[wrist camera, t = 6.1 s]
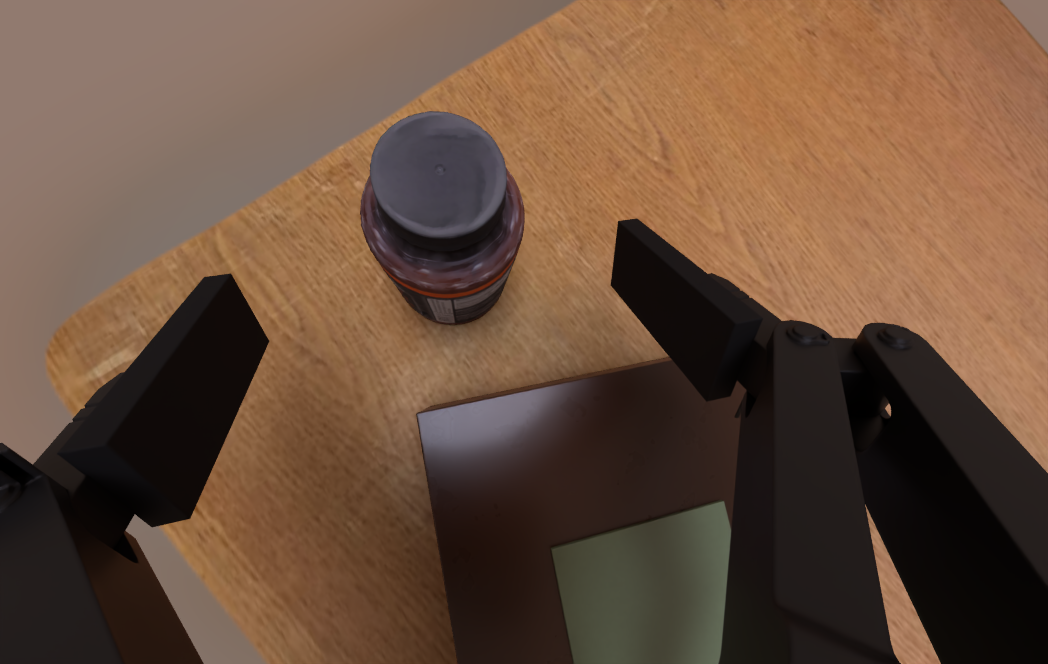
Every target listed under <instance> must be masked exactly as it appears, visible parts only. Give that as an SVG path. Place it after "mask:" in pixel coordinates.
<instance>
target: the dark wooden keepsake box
mask: <svg viewBox="0 0 1048 664" xmlns="http://www.w3.org/2000/svg"><path fill="white" fill-rule="evenodd" d="M745 392H746V389H745V388H744V387H743V386H742V385H741V384H740V383H739V382H738V381H737V382H736V385H735V387H734V389H733V392H732V394H731V396H730V397H726V398H721V399H717V400H712V401H708V402H706V400H705V399H704V398H703V397H702V396H701V394H700V393H699V392H698V391H697V390H696V388H695V387H694V386H693V385H692V383H691V382H690V381H689V380H688V379H687V377H686V376H685V375H684V374H683V372H682V371H681V370H680V369H679V368H678V366H677V365H676V364H675V363H674V362H673V360H672V359H671V358H670V357H666V358H661V359H656V360H651V361H647V362H642V363H637V364H632V365H627V366H622V367H618V368H613V369H608V370H603V371H598V372H593V373H588V374H584V375H579V376H574V377H569V378H564V379H559V380H555V381H550V382H545V383H540V384H535V385H530V386H525V387H521V388H516V389H511V390H506V391H501V392H496V393H492V394H487V395H482V396H477V397H472V398H467V399H463V400H458V401H453V402H448V403H443V404H438V405H433V406H430V407H428V408H426V409H424V410H422V411H420V412H418V413H417V414H416V415H417V422H418V428H419V434H420V440H421V446H422V452H423V458H424V464H425V470H426V476H427V482H428V488H429V494H430V500H431V506H432V512H433V518H434V524H435V530H436V536H437V542H438V548H439V554H440V560H441V566H442V572H443V578H444V584H445V590H446V596H447V602H448V608H449V614H450V620H451V626H452V632H453V638H454V644H455V650H456V656H457V662H458V664H719V659H720V654H721V646H722V634H723V622H724V610H725V598H726V586H727V574H728V563H729V551H730V539H731V527H732V515H733V503H734V491H735V479H736V467H737V456H738V444H739V432H740V420H741V415H740V416H739V418H735V417H734V416H735V414H736V412H737V410H738V408H739V405H740V403H741V401H742V399H743V396H744V394H745Z"/></svg>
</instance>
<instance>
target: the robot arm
mask: <svg viewBox="0 0 1048 664" xmlns="http://www.w3.org/2000/svg"><path fill="white" fill-rule="evenodd" d="M611 286H612V287H613V289H614V290H615V291H616V292H617V293H618V295H619V296H620V297H621V298H622V300H623V301H624V302H625V303H626V304H627V306H628V307H629V308H630V309H631V310H632V312H633V313H634V314H635V315H636V317H637V318H638V319H639V320H640V321H641V323H642V324H643V325H644V326H645V328H646V329H647V330H648V331H649V332H650V334H651V335H652V336H653V337H654V338H655V340H656V341H657V342H658V343H659V345H660V346H661V347H662V348H663V349H664V351H665V352H666V353H667V354H668V355H669V357H670V358H671V359H672V360H673V362H674V363H675V364H676V365H677V366H678V368H679V369H680V370H681V371H682V372H683V374H684V375H685V376H686V377H687V379H688V380H689V381H690V382H691V383H692V385H693V386H694V387H695V388H696V390H697V391H698V392H699V393H700V394H701V396H702V397H703V398H704V399H705V400H706V402H708V401H712V400H717V399H721V398H726V397H730V396H731V394H732V392H733V389H734V387H735V385H736V382H737V381H738V382H739V383H740V384H741V385H742V386H743V387H744V388H745V389H746V392H745V394H744V396H743V399H742V401H741V403H740V405H739V408H738V410H737V412H736V414H735V416H734V417H735V418H739V416H740V415H741V420H740V432H739V444H738V456H737V467H736V479H735V491H734V503H733V515H732V527H731V539H730V551H729V563H728V574H727V586H726V598H725V610H724V622H723V634H722V646H721V654H720V659H719V664H901V663H899V661H898V659H897V658H896V656H895V654H894V651H893V648H892V645H891V641H890V635H889V630H888V625H887V619H886V614H885V609H884V603H883V598H882V593H881V587H880V582H879V577H878V571H877V566H876V560H875V555H874V550H873V544H872V539H871V534H870V528H869V523H868V518H867V512H866V507H867V509H868V511H869V513H870V515H871V517H872V519H873V521H874V524H875V526H876V528H877V530H878V532H879V534H880V536H881V538H882V540H883V542H884V545H885V547H886V549H887V551H888V553H889V555H890V557H891V559H892V561H893V563H894V566H895V568H896V570H897V572H898V574H899V576H900V578H901V580H902V582H903V584H904V587H905V589H906V591H907V593H908V595H909V597H910V599H911V601H912V603H913V606H914V608H915V610H916V612H917V614H918V616H919V618H920V620H921V622H922V624H923V627H924V629H925V631H926V633H927V635H928V637H929V639H930V641H931V643H932V645H933V648H934V650H935V652H936V654H937V656H938V658H939V660H940V662H941V664H1048V473H1047V472H1046V471H1045V470H1044V469H1043V468H1042V467H1041V465H1040V464H1039V463H1038V462H1037V461H1036V460H1035V459H1034V458H1033V457H1032V456H1031V455H1030V453H1029V452H1028V451H1027V450H1026V449H1025V448H1024V447H1023V446H1022V445H1021V444H1020V443H1019V441H1018V440H1017V439H1016V438H1015V437H1014V436H1013V435H1012V434H1011V433H1010V432H1009V431H1008V429H1007V428H1006V427H1005V426H1004V425H1003V424H1002V423H1001V422H1000V421H999V420H998V418H997V417H996V416H995V415H994V414H993V413H992V412H991V411H990V410H989V409H988V408H987V406H986V405H985V404H984V403H983V402H982V401H981V400H980V399H979V398H978V397H977V396H976V394H975V393H974V392H973V391H972V390H971V389H970V388H969V387H968V386H967V385H966V384H965V382H964V381H963V380H962V379H961V378H960V377H959V376H958V375H957V374H956V373H955V372H954V370H953V369H952V368H951V367H950V366H949V365H948V364H947V363H946V362H945V361H944V360H943V358H942V357H941V356H940V355H939V354H938V353H937V352H936V351H935V350H934V349H933V348H932V346H931V345H930V344H929V343H928V342H927V341H926V340H924V339H923V338H922V337H921V336H919V335H918V334H916V333H914V332H912V331H910V330H909V329H907V328H904V327H900V326H898V325H894V324H886V323H870V324H868V325H865V326H864V328H863V329H862V331H861V333H860V334H859V336H858V337H857V339H850V338H832V337H831V336H830V335H829V334H828V333H827V332H826V331H824V330H823V329H821V328H819V327H817V326H815V325H812V324H809V323H806V322H802V321H793V320H789V321H781V320H780V319H779V318H777V317H776V316H775V315H773V314H772V313H771V312H769V311H768V310H767V309H766V308H764V307H763V306H762V305H760V304H759V303H758V302H756V301H755V300H754V299H752V298H749V296H748V295H747V294H746V293H744V292H743V291H740V289H739V288H738V287H736V286H735V285H734V284H733V283H731V282H730V281H729V280H727V279H724V278H722V277H720V276H717V275H715V274H713V273H711V274H707V273H706V272H704V271H703V270H702V269H701V268H699V267H698V266H697V265H695V264H694V263H693V262H692V261H690V260H689V259H688V258H687V257H685V256H684V255H683V254H682V253H680V252H679V251H678V250H676V249H675V248H674V247H673V246H671V245H670V244H669V243H668V242H666V241H665V240H664V239H662V238H661V237H660V236H659V235H657V234H656V233H655V232H654V231H652V230H651V229H650V228H649V227H647V226H646V225H645V224H643V223H642V222H641V221H640V220H638V219H630V220H623V221H618V227H617V236H616V244H615V253H614V262H613V270H612V279H611ZM268 343H269V340H268V338H267V336H266V335H265V333H264V331H263V329H262V327H261V326H260V324H259V322H258V320H257V319H256V317H255V315H254V313H253V312H252V310H251V308H250V306H249V305H248V303H247V301H246V299H245V297H244V296H243V294H242V292H241V290H240V289H239V287H238V285H237V283H236V282H235V280H234V278H233V276H232V274H224V275H217V276H209V277H204V278H203V279H202V280H201V282H200V283H199V284H198V285H197V286H196V288H195V289H194V290H193V291H192V292H191V294H190V295H189V296H188V297H187V298H186V300H185V301H184V302H183V303H182V304H181V306H180V307H179V308H178V309H177V310H176V312H175V313H174V314H173V315H172V316H171V318H170V319H169V320H168V321H167V322H166V324H165V325H164V326H163V327H162V328H161V329H160V331H159V332H158V333H157V334H156V335H155V337H154V338H153V339H152V340H151V341H150V343H149V344H148V345H147V346H146V347H145V349H144V350H143V351H142V352H141V353H140V355H139V356H138V357H137V358H136V359H135V361H134V362H133V363H132V364H131V365H130V367H129V368H128V369H127V370H126V371H125V372H123V373H120V374H119V375H117V376H116V377H114V378H113V379H112V380H110V381H109V382H108V383H106V384H105V385H103V386H102V387H101V388H99V389H98V390H97V392H96V393H95V394H94V395H93V396H92V397H91V399H90V400H89V401H88V402H87V403H86V404H85V405H84V406H85V408H83V409H81V410H80V411H79V412H78V413H77V415H76V416H75V417H74V418H73V419H72V420H73V422H72V423H69V424H68V425H67V426H66V427H65V428H64V430H63V431H62V432H61V433H60V434H59V435H58V436H57V438H56V439H55V440H54V441H53V442H52V443H51V445H50V446H49V447H48V448H47V449H46V450H45V451H44V453H43V454H42V455H41V456H40V457H39V459H37V461H36V462H35V463H34V464H33V465H32V464H31V463H29V462H28V461H27V460H25V459H24V458H22V457H21V456H20V455H18V454H17V453H16V452H14V451H13V450H11V449H10V448H8V447H7V446H6V445H4V444H3V443H0V664H203V662H202V660H201V658H200V656H199V654H198V652H197V651H196V649H195V647H194V645H193V643H192V641H191V639H190V638H189V636H188V634H187V632H186V630H185V628H184V627H183V625H182V623H181V621H180V619H179V618H178V616H177V614H176V612H175V610H174V608H173V607H172V605H171V603H170V601H169V599H168V597H167V595H166V594H165V592H164V590H163V588H162V586H161V584H160V583H159V581H158V579H157V577H156V575H155V573H154V572H153V570H152V568H151V566H150V564H149V562H148V561H147V559H146V557H145V555H144V553H143V551H142V549H141V548H140V546H139V544H138V542H137V540H136V539H135V538H134V537H133V536H132V535H130V534H129V533H127V532H126V531H125V530H126V528H127V526H128V525H129V523H130V521H131V519H132V518H133V516H134V514H136V515H137V516H138V517H139V518H141V519H142V520H143V521H144V522H146V523H147V524H148V525H150V526H151V527H156V526H160V525H164V524H169V523H173V522H178V521H182V520H186V519H190V518H191V515H192V513H193V511H194V509H195V506H196V504H197V502H198V500H199V497H200V495H201V493H202V491H203V489H204V486H205V484H206V482H207V480H208V477H209V475H210V473H211V471H212V468H213V466H214V464H215V462H216V459H217V457H218V455H219V453H220V450H221V448H222V446H223V444H224V442H225V439H226V437H227V435H228V433H229V430H230V428H231V426H232V424H233V421H234V419H235V417H236V415H237V412H238V410H239V408H240V406H241V403H242V401H243V399H244V397H245V395H246V392H247V390H248V388H249V386H250V383H251V381H252V379H253V377H254V374H255V372H256V370H257V368H258V365H259V363H260V361H261V359H262V356H263V354H264V352H265V350H266V348H267V345H268ZM888 404H890V406H891V417H890V416H889V414H888V413H887V411H886V410H885V408H886V406H887V405H888ZM865 505H866V507H865Z"/></svg>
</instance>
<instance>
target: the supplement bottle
mask: <svg viewBox="0 0 1048 664" xmlns="http://www.w3.org/2000/svg"><path fill="white" fill-rule="evenodd" d="M360 215H361V227H362V229H363V232H364V235H365V238H366V242H367V243H368V246H369V248H370V250H371V252H372V253H373V255H374V256H375V258H376V259H377V261H378V262H379V263H380V265H381V267H382V268H383V270H384V271H385V272H386V274H387V275H388V276H389V278H390V279H391V280H392V281H393V283H394V284H395V285H396V287H397V288H398V290H399V291H400V293H401V294H402V296H403V297H404V298H405V300H406V301H407V302H408V303H409V304H410V305H411V307H412V308H413V309H415V310H416V311H417V312H418V313H420V314H421V315H423V316H424V317H426V318H427V319H429V320H432V321H434V322H438V323H442V324H449V325H450V324H455V325H457V324H464V323H468V322H471V321H473V320H476V319H478V318H479V317H481V316H483V315H484V314H485V313H486V312H488V311H489V310H490V309H491V308H492V306H493V305H494V304H495V303H496V301H497V300H498V299H499V297H500V295H501V293H502V291H503V288H504V286H505V283H506V281H507V278H508V275H509V273H510V271H511V268H512V266H513V263H514V261H515V258H516V256H517V253H518V249H519V246H520V244H521V241H522V237H523V231H524V205H523V201H522V197H521V194H520V191H519V188H518V186H517V184H516V182H515V180H514V178H513V176H512V175H511V174H510V172H509V171H508V169H507V168H506V166H505V161H504V158H503V155H502V153H501V151H500V149H499V147H498V146H497V144H496V143H495V141H494V140H493V138H492V137H491V136H490V135H489V134H488V133H487V132H486V131H484V130H483V129H482V128H481V127H480V126H478V125H477V124H475V123H474V122H473V121H471V120H469V119H466V118H464V117H462V116H459V115H456V114H452V113H448V112H433V111H429V112H425V113H419V114H415V115H412V116H408V117H407V118H404V119H402V120H400V121H398V122H397V123H396V124H394V125H393V126H391V127H390V128H389V129H388V130H387V131H386V132H385V133H384V134H383V135H382V136H381V138H380V139H379V141H378V143H377V144H376V147H375V149H374V152H373V154H372V159H371V164H370V176H369V178H368V180H367V183H366V185H365V188H364V191H363V194H362V199H361V211H360Z"/></svg>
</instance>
